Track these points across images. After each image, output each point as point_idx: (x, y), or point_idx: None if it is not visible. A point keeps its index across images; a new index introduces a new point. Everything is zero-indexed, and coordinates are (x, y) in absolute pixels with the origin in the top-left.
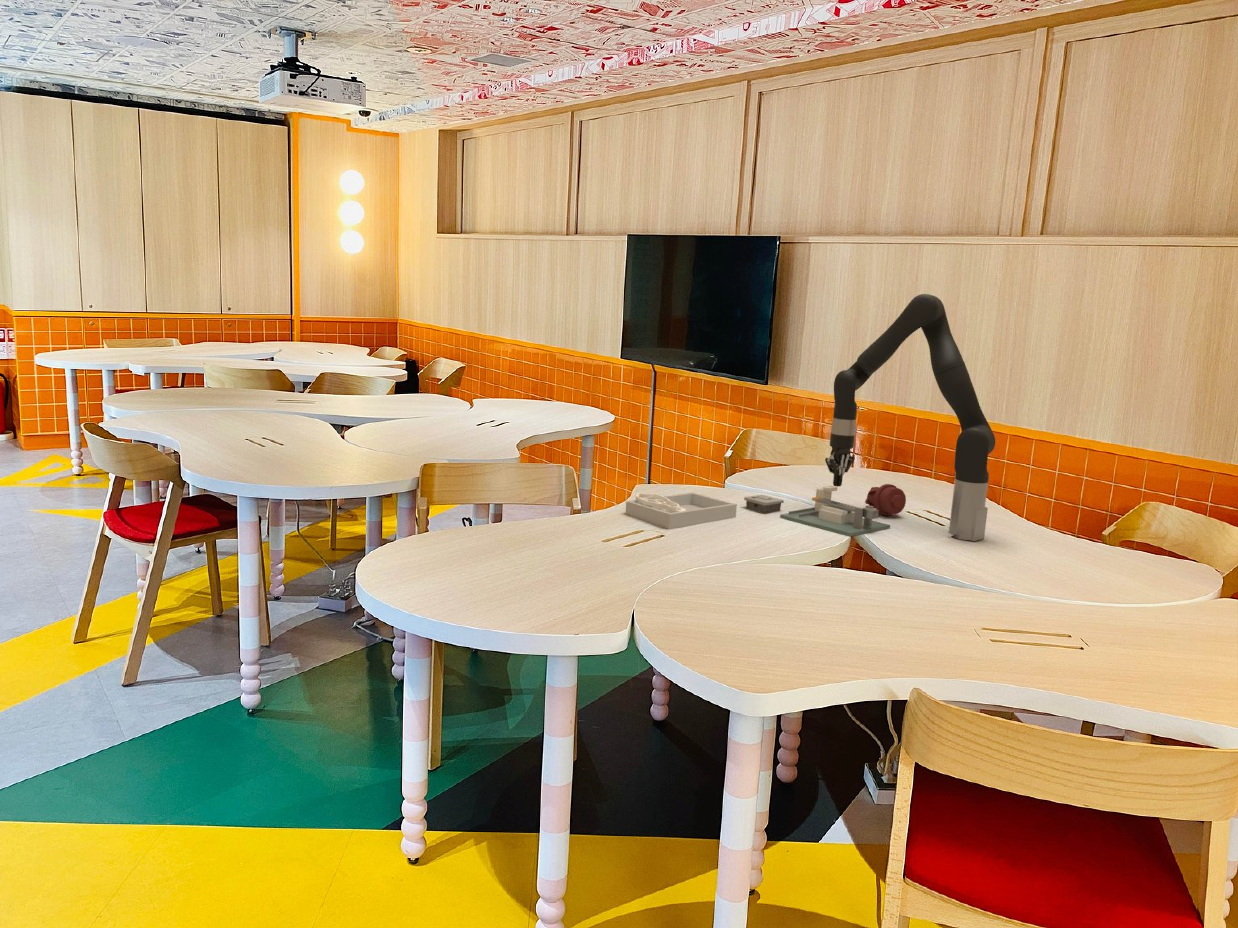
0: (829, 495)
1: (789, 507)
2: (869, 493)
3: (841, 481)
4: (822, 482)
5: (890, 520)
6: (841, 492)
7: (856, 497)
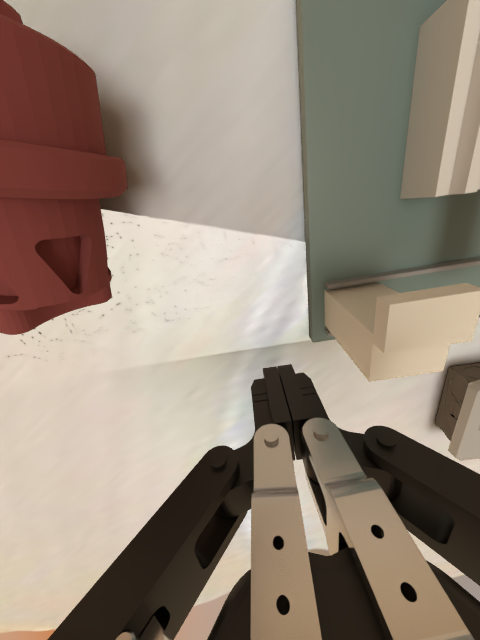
0: (374, 314)
1: (364, 397)
2: (77, 291)
3: (269, 385)
4: (40, 553)
5: (122, 48)
6: (47, 485)
7: (31, 437)
